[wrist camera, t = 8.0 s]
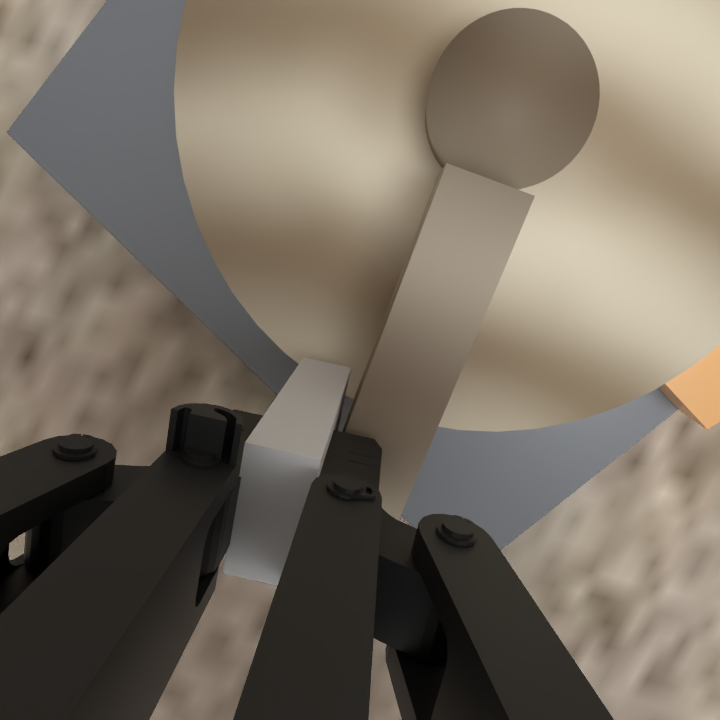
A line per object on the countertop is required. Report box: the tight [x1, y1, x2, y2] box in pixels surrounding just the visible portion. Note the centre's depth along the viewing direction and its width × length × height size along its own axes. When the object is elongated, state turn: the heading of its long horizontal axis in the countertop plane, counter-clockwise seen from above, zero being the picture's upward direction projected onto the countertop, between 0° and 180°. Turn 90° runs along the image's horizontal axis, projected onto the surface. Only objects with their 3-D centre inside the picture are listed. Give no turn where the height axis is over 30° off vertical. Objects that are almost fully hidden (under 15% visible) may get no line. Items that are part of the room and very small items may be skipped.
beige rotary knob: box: [174, 0, 720, 521], centre depth 15 cm, size 21×18×6 cm
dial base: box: [7, 0, 720, 550], centre depth 18 cm, size 22×22×4 cm
